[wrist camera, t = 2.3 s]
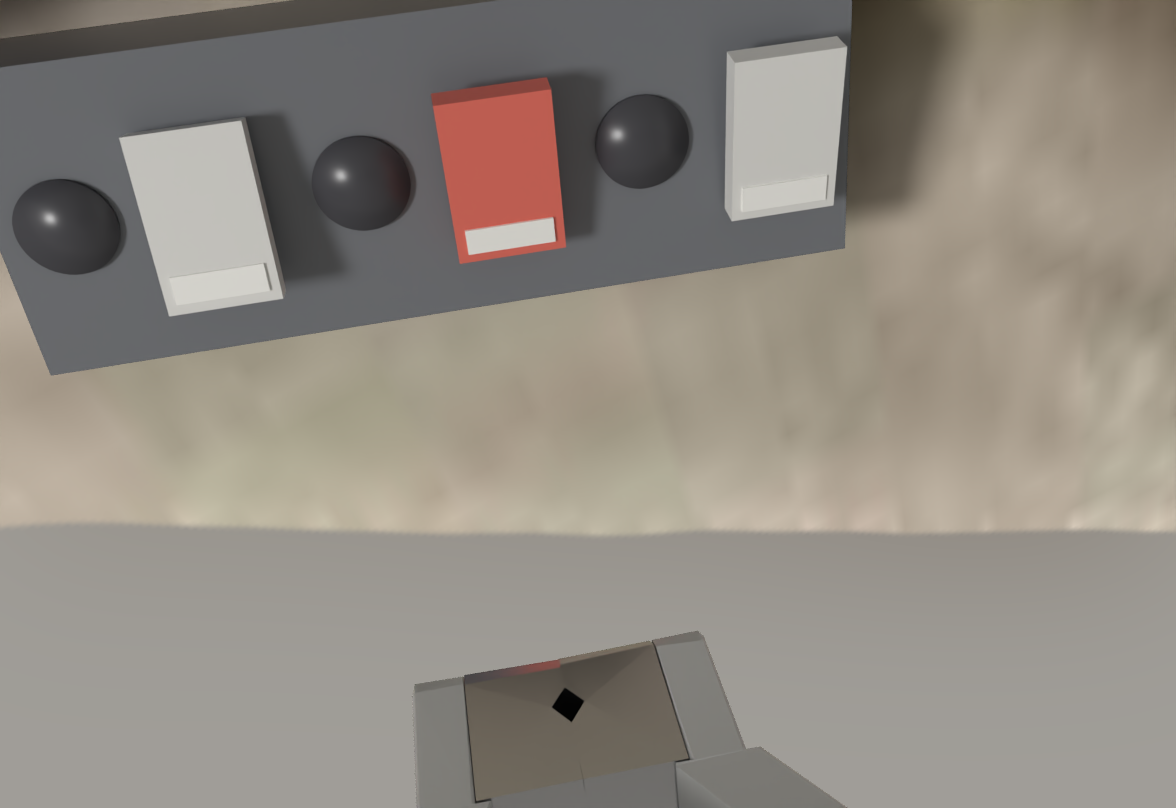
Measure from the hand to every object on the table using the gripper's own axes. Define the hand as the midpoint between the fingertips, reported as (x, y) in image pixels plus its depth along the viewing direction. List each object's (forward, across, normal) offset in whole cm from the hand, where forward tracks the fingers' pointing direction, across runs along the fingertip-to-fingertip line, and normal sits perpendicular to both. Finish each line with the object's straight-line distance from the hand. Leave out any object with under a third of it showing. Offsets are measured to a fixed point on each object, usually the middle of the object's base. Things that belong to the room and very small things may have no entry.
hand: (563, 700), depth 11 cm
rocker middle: (+22, -1, +2) cm, 22 cm away
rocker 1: (+22, +7, +2) cm, 23 cm away
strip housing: (+27, 0, +2) cm, 27 cm away
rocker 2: (+22, -10, +2) cm, 24 cm away
